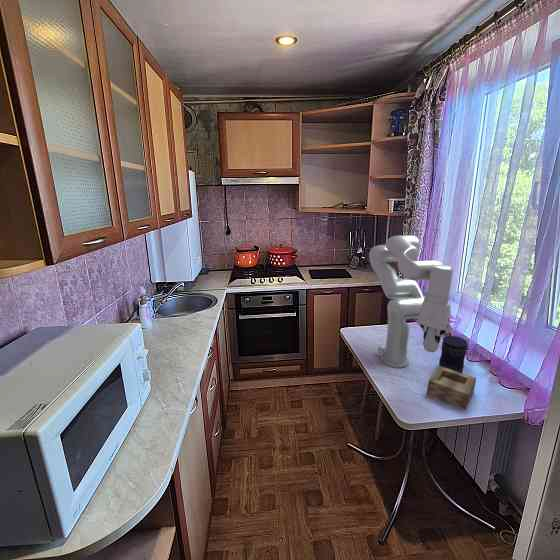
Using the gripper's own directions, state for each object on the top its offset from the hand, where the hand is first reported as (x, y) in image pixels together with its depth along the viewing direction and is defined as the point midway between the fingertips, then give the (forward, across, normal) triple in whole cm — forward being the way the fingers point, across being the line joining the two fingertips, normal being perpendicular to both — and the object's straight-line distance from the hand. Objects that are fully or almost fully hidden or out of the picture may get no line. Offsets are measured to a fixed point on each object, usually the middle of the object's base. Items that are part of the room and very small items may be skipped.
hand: (431, 342), depth 125 cm
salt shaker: (+3, 0, 0) cm, 3 cm away
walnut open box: (+23, +8, +6) cm, 25 cm away
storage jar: (+22, +2, +24) cm, 33 cm away
